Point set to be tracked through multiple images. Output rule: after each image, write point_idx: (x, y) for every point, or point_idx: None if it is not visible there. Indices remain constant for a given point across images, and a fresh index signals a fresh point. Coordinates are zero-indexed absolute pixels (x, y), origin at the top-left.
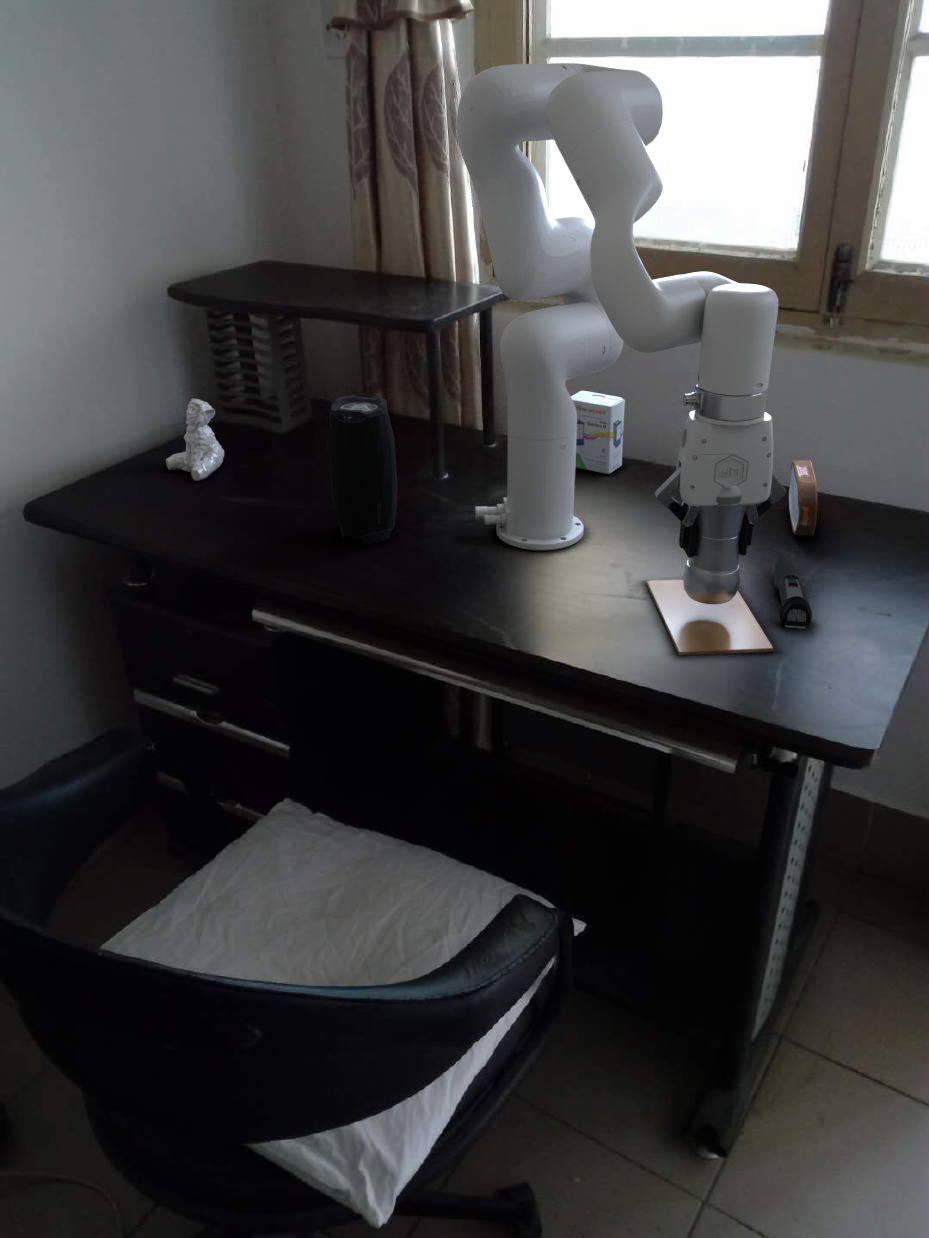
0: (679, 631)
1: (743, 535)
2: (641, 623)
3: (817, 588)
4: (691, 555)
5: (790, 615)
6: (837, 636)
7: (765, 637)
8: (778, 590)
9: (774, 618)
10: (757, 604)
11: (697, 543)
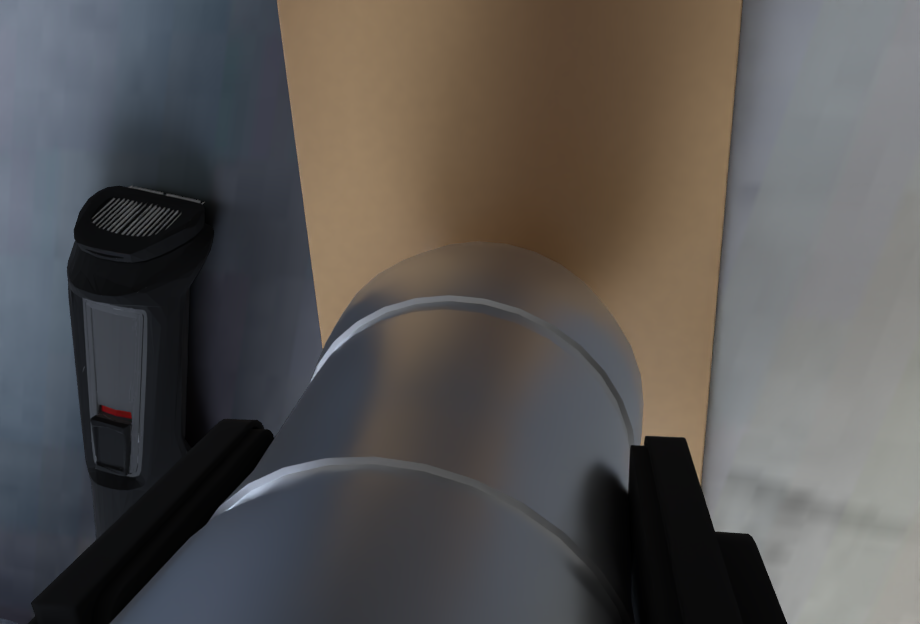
0: (681, 157)
1: (164, 528)
2: (827, 278)
3: (66, 470)
4: (665, 440)
5: (160, 222)
6: (20, 118)
7: (293, 84)
8: (188, 446)
9: (236, 277)
10: (283, 388)
11: (613, 533)
